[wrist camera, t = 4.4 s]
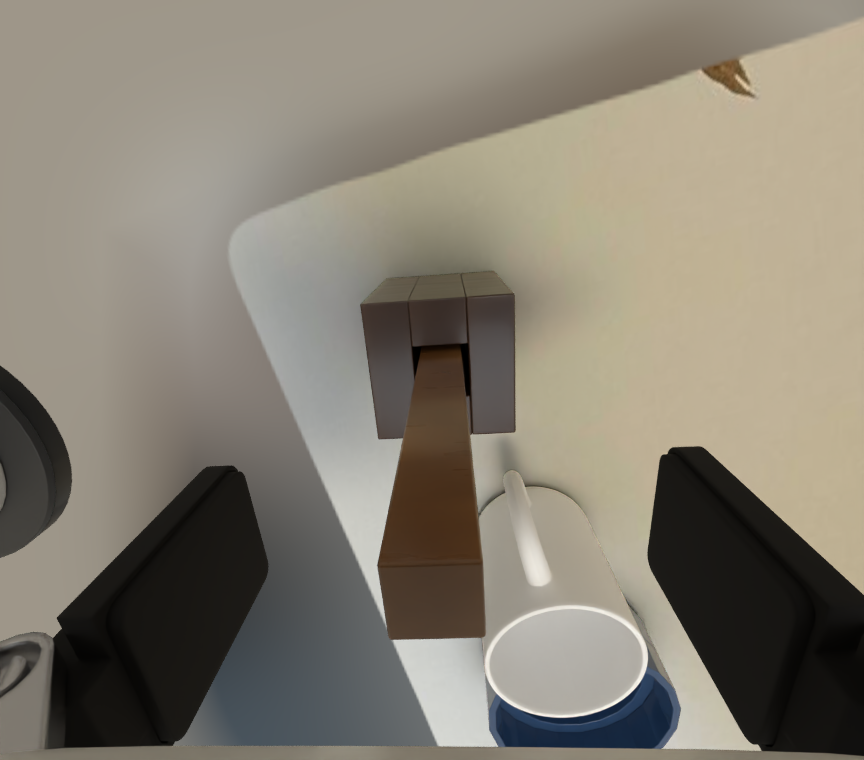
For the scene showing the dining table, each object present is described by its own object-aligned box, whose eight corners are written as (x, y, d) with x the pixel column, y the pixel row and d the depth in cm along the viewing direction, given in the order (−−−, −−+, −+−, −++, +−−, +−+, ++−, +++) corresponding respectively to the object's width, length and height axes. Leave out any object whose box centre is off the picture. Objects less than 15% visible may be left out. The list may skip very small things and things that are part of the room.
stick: (429, 342, 26) (387, 641, 8) (427, 314, 26) (376, 564, 7) (458, 341, 26) (486, 639, 8) (457, 312, 26) (483, 561, 7)
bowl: (484, 694, 38) (491, 777, 32) (479, 582, 33) (486, 656, 28) (634, 692, 37) (667, 776, 31) (650, 577, 32) (692, 652, 27)
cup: (490, 583, 33) (507, 729, 24) (443, 455, 29) (441, 569, 20) (596, 559, 32) (659, 703, 23) (562, 423, 28) (621, 527, 19)
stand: (397, 379, 27) (378, 440, 20) (385, 278, 25) (359, 304, 18) (496, 373, 27) (515, 433, 20) (494, 270, 25) (515, 293, 17)
